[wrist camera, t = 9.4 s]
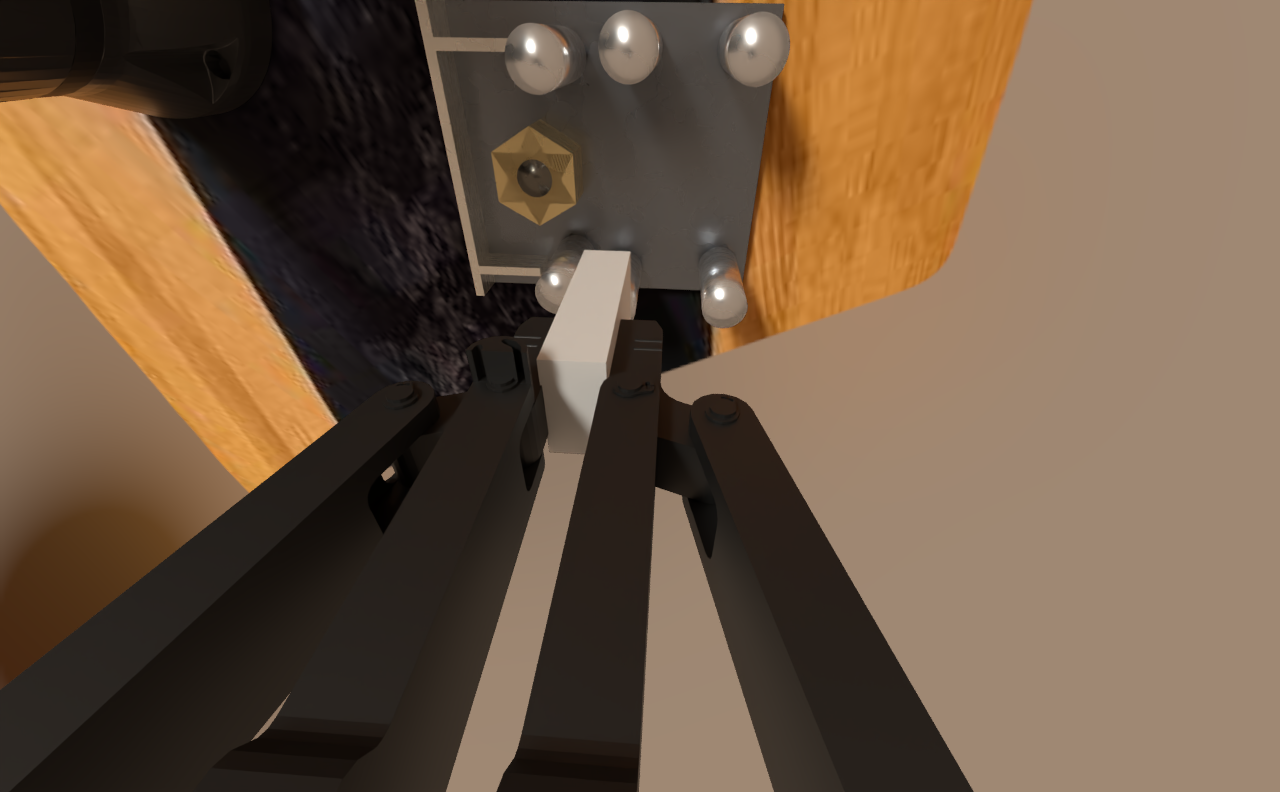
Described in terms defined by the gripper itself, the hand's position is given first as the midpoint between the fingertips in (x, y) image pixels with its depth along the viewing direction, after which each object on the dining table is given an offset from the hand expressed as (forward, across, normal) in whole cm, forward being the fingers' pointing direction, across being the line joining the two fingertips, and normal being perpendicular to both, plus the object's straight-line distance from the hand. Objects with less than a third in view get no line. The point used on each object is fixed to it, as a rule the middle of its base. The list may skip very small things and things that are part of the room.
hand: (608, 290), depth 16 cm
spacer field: (+20, -2, 0) cm, 20 cm away
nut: (+20, -6, 0) cm, 21 cm away
